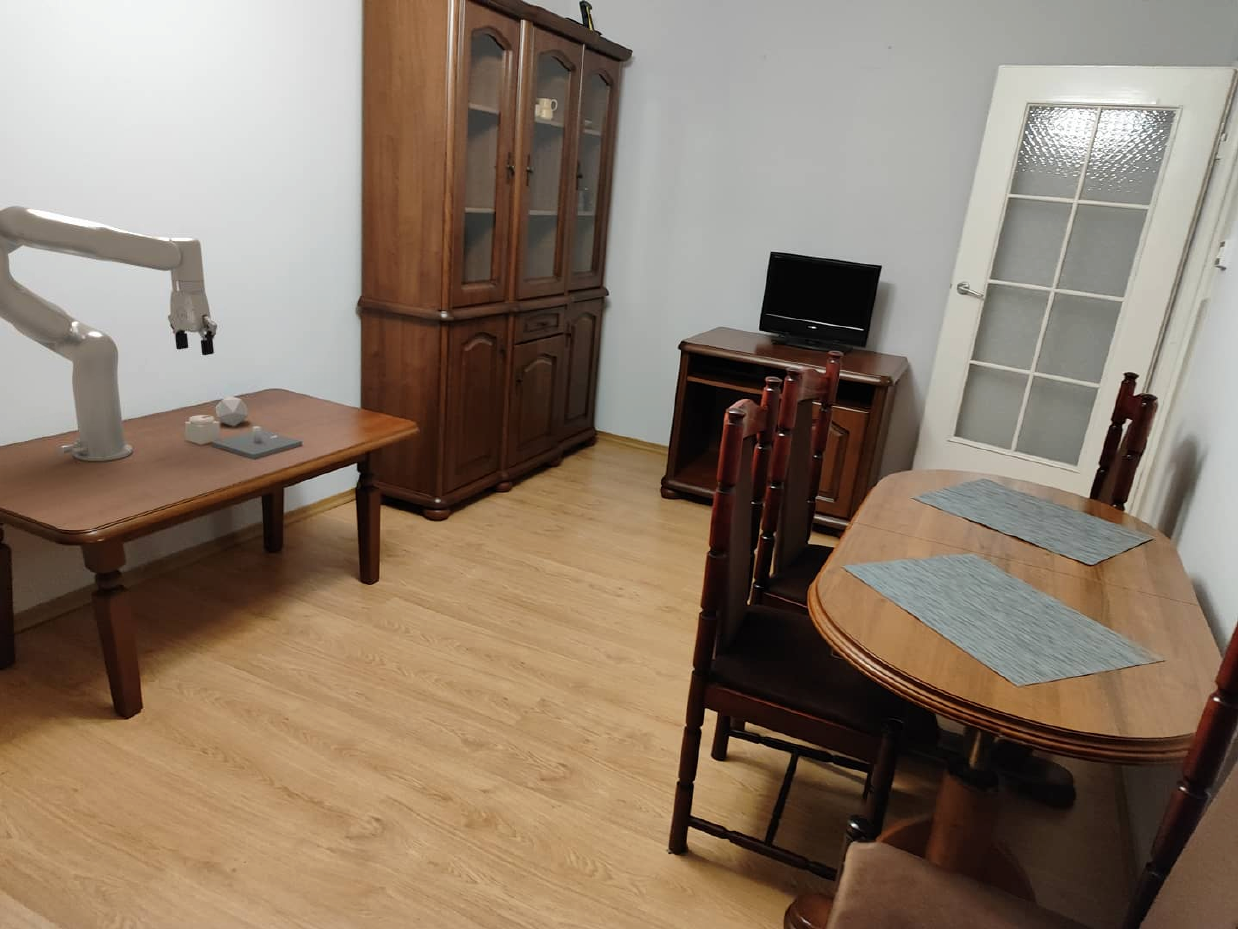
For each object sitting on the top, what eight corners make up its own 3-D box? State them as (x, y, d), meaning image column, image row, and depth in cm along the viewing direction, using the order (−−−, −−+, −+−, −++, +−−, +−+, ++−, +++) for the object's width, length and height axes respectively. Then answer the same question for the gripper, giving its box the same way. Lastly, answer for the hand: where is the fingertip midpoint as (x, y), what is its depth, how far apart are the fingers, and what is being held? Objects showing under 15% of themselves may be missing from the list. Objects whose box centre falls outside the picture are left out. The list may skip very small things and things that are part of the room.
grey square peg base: (253, 459, 213) (252, 439, 211) (211, 446, 219) (210, 427, 217) (302, 445, 226) (301, 427, 225) (261, 433, 233) (260, 415, 231)
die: (226, 420, 244) (206, 398, 236) (253, 407, 245) (234, 385, 237) (229, 437, 238) (209, 415, 231) (256, 423, 239) (237, 401, 232)
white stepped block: (201, 444, 219) (199, 421, 217) (186, 439, 222) (184, 416, 220) (220, 439, 225) (218, 417, 223) (205, 435, 227) (203, 412, 225)
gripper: (152, 283, 212) (160, 348, 218) (199, 292, 205) (205, 358, 211) (178, 281, 218) (185, 344, 224) (224, 289, 212) (230, 354, 217)
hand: (195, 351), depth 217 cm, fingers open, 9 cm apart
